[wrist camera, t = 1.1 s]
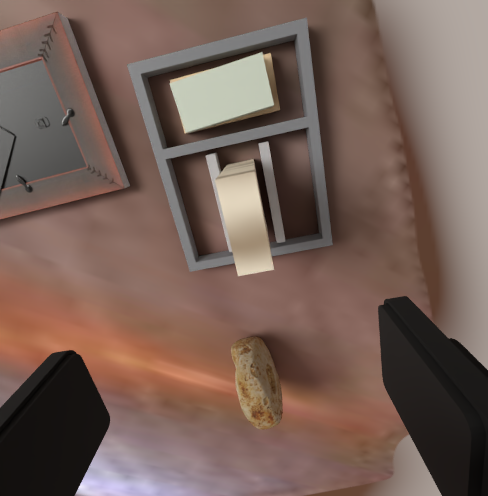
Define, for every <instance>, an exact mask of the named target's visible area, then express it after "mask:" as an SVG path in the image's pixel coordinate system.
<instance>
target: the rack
mask: <svg viewBox="0 0 488 496" xmlns="http://www.w3.org/2000/svg"><path fill="white" fill-rule="evenodd" d="M293 40H294V42H295V50H296V58H297V65H298V73H299V81H300V89H301V96H302V104H303V112H304V117H303V118H298V119H294V120H289V121H285V122H281V123H276V124H272V125H268V126H263V127H259V128H255V129H250V130H246V131H241V132H237V133H233V134H228V135H224V136H220V137H215V138H211V139H206V140H202V141H198V142H193V143H189V144H185V145H180V146H176V147H171V148H167V144H166V141H165V137H164V134H163V130H162V127H161V123H160V120H159V116H158V113H157V109H156V106H155V102H154V99H153V95H152V92H151V88H150V85H149V82H148V77H152V76H156V75H160V74H163V73H167V72H171V71H175V70H179V69H183V68H187V67H191V66H195V65H199V64H203V63H207V62H211V61H215V60H218V59H222V58H226V57H230V56H234V55H238V54H242V53H246V52H250V51H254V50H258V49H262V48H266V47H270V46H274V45H277V44H281V43H285V42H289V41H293ZM127 66H128V69H129V73H130V76H131V79H132V83H133V86H134V89H135V92H136V96H137V99H138V102H139V106H140V109H141V112H142V115H143V119H144V122H145V125H146V129H147V132H148V135H149V138H150V142H151V145H152V148H153V152H154V155H155V158H156V161H157V165H158V168H159V171H160V175H161V178H162V181H163V184H164V188H165V191H166V194H167V198H168V201H169V204H170V207H171V211H172V214H173V217H174V221H175V224H176V227H177V230H178V234H179V237H180V240H181V244H182V247H183V250H184V253H185V257H186V260H187V263H188V267H189V270H190V271H196V270H201V269H207V268H212V267H217V266H223V265H228V264H234V263H235V261H234V257H233V253H232V249H231V245H230V240H229V236H228V232H227V228H226V224H225V220H224V216H223V212H222V208H221V203H220V199H219V195H218V191H217V187H216V183H215V179H216V178H217V177H218V175H219V174H220V173H221V167H220V163H219V159H218V154H217V153H212V154H208V155H206V159H207V163H208V167H209V171H210V176H211V180H212V184H213V188H214V192H215V196H216V200H217V204H218V208H219V212H220V216H221V220H222V224H223V228H224V232H225V236H226V240H227V244H228V248H229V250H228V251H223V252H218V253H212V254H207V255H202V256H198V252H197V249H196V245H195V242H194V238H193V235H192V231H191V228H190V224H189V221H188V217H187V214H186V210H185V207H184V203H183V200H182V196H181V193H180V189H179V186H178V183H177V179H176V176H175V172H174V169H173V165H172V162H171V158H174V157H178V156H183V155H187V154H192V153H196V152H200V151H205V150H209V149H214V148H218V147H223V146H227V145H232V144H236V143H240V142H245V141H249V140H254V139H258V138H263V137H267V136H272V135H276V134H280V133H285V132H289V131H294V130H298V129H303V128H306V135H307V143H308V151H309V158H310V166H311V174H312V181H313V189H314V197H315V205H316V212H317V220H318V228H319V233H318V234H312V235H307V236H302V237H297V238H291V239H286V240H285V235H284V229H283V224H282V218H281V212H280V206H279V201H278V195H277V189H276V183H275V177H274V172H273V166H272V160H271V154H270V149H269V143H268V141H266V142H261V143H258V145H259V150H260V156H261V161H262V166H263V172H264V177H265V183H266V188H267V194H268V199H269V204H270V210H271V215H272V221H273V226H274V231H275V237H276V241H275V242H270V249H271V255H272V256H277V255H282V254H287V253H293V252H298V251H304V250H309V249H314V248H320V247H325V246H330V245H333V243H332V234H331V226H330V217H329V208H328V199H327V191H326V182H325V173H324V164H323V156H322V147H321V138H320V129H319V121H318V112H317V103H316V94H315V86H314V77H313V68H312V59H311V50H310V42H309V33H308V24H307V18H304V19H300V20H296V21H292V22H288V23H284V24H281V25H277V26H273V27H269V28H265V29H261V30H258V31H254V32H250V33H246V34H242V35H238V36H235V37H231V38H227V39H223V40H219V41H215V42H212V43H208V44H204V45H200V46H196V47H192V48H189V49H185V50H181V51H177V52H173V53H169V54H166V55H162V56H158V57H154V58H150V59H146V60H143V61H139V62H135V63H131V64H127Z"/></svg>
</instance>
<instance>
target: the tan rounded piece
mask: <svg viewBox="0 0 488 496" xmlns="http://www.w3.org/2000/svg"><path fill="white" fill-rule="evenodd" d="M231 354H232V358H233V361H234V364H235V366H236V375H235V376H236V390H237V394H238V397H239V400H240V404H241V408H242V411H243V413H244V415H245V416H246V417H247V419H248V420H249V422H250V423H251V424H252V425H254V426H255V427H256V428H258V429H262V430H263V429H269V428H272V427H274V426H276V425H278V424H279V423H280V420H281V418H282V413H283V412H282V391H281V385H280V381H279V377H278V374H277V371H276V369H275V365H274V362H273V360H272V357H271V355H270V352H269V350H268V348H267V347H266V345H265V344H264V342H263V341H262V340H261V338H259V337H257V336H254V337H247V338H244V339H240V340H238V341H236V342H235V343H234V344H233V345H232V347H231Z"/></svg>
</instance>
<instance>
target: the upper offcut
mask: <svg viewBox="0 0 488 496" xmlns="http://www.w3.org/2000/svg"><path fill="white" fill-rule="evenodd" d="M169 84H170V87H171V90H172V93H173V96H174V99H175V102H176V105H177V108H178V111H179V114H180V117H181V120H182V123H183V126H184V129H185V132H186V133H191V132H194V131H197V130H201V129H204V128H207V127H210V126H213V125H217V124H220V123H223V122H226V121H229V120H232V119H236V118H239V117H242V116H245V115H248V114H252V113H255V112H258V111H261V110H264V109H267V108H271V107H273V106H274V102H273V98H272V94H271V89H270V85H269V80H268V76H267V72H266V67H265V63H264V58H263V54H262V52H261V53H258V54H255V55H252V56H249V57H246V58H243V59H240V60H237V61H234V62H231V63H228V64H225V65H222V66H220V67H217V68H214V69H211V70H208V71H205V72H202V73H199V74H196V75H193V76H190V77H187V78H184V79H181V80H178V81H175V82H172V83H169Z"/></svg>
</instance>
